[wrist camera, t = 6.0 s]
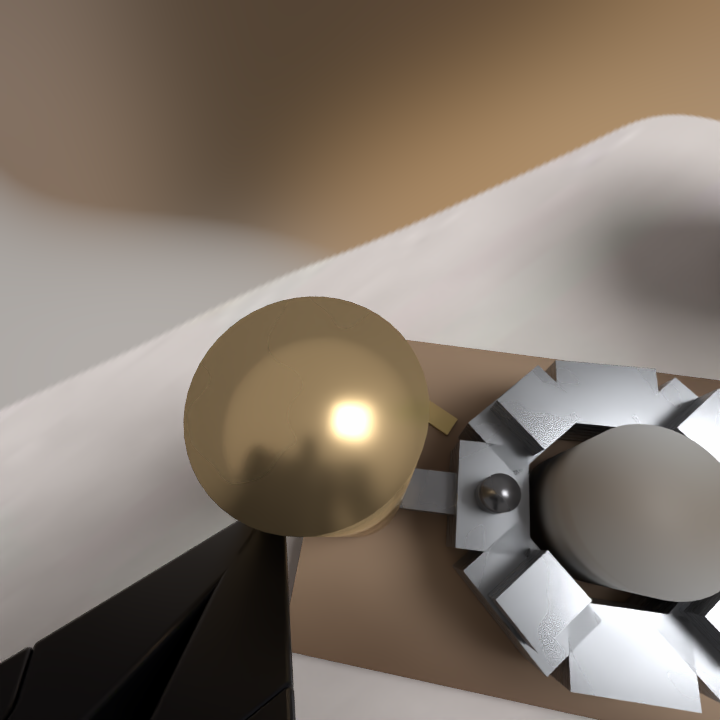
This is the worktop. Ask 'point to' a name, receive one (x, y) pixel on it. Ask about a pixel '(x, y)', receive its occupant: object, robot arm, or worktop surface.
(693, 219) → the worktop surface
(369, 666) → the mount board
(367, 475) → the desk sculpture ornament
